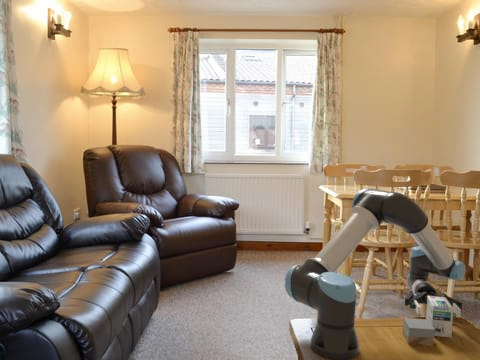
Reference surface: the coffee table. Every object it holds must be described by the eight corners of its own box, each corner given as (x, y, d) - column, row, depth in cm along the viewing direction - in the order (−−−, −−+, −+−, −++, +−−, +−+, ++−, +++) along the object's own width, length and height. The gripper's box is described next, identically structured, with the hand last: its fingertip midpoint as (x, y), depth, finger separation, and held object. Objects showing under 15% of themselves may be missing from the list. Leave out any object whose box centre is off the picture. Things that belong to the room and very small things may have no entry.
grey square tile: (408, 336, 148) (409, 327, 148) (403, 326, 156) (404, 317, 156) (434, 338, 147) (434, 329, 147) (427, 327, 155) (428, 319, 155)
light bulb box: (452, 338, 154) (454, 307, 153) (431, 336, 155) (433, 305, 154) (444, 325, 164) (446, 296, 163) (424, 323, 165) (426, 295, 164)
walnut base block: (407, 345, 149) (408, 336, 148) (402, 334, 156) (402, 326, 156) (433, 347, 148) (433, 338, 147) (426, 336, 155) (426, 328, 155)
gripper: (456, 303, 179) (475, 325, 159) (391, 298, 183) (401, 319, 162) (457, 284, 179) (477, 304, 158) (392, 280, 182) (403, 299, 161)
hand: (439, 312), depth 160 cm, fingers open, 13 cm apart
